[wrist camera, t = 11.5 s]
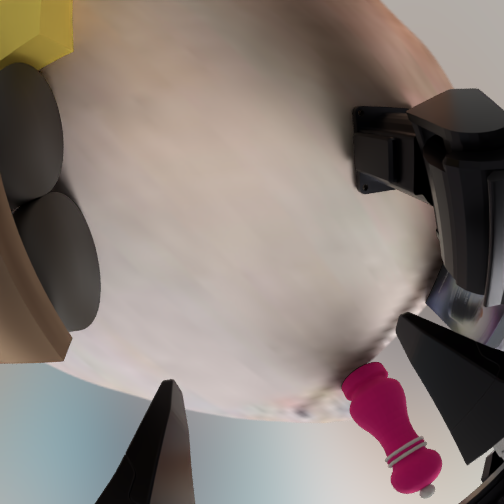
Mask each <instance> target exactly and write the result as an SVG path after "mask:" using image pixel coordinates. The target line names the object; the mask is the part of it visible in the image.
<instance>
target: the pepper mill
mask: <svg viewBox="0 0 504 504" xmlns="http://www.w3.org/2000/svg"><path fill="white" fill-rule="evenodd" d="M387 377H388V372H387V371H386V369H385V368H384V367H383V365H382V364H381V363H379V362H371V363H368V364H365V365H363V366H361V367H359V368H358V369H356V370H355V371H353V372H352V373H351V374H350V375H349V376H348V377H347V378H346V379H345V380H344V382H343V384H342V391H343V393H344V394H345V396H346V398H347V399H348V400H350V401H352V402H351V405H350V414H351V416H352V418H353V419H354V421H355V422H356V423H357V424H358V425H359V426H360V427H361V428H363V429H364V430H366V431H367V432H369V433H370V434H372V435H373V436H374V437H375V438H376V439H377V440H378V441H379V442H380V444H381V445H382V447H383V448H384V450H385V453H386V455H387V458H386V459H385V461H386V462H387V463H388V464H389V465H388V467H389V468H392V467H393V472H392V475H391V483H392V485H393V487H394V488H395V489H396V490H397V491H398V492H400V493H404V494H409V493H414V492H417V491H419V490H420V496H421V497H422V498H429V497H431V496H432V495H433V494H434V492H435V487H434V486H433V485H431V483H432V482H433V481H434V480H435V479H436V478H437V476H438V475H439V473H440V471H441V467H442V460H441V457H440V455H439V454H438V453H437V452H436V451H435V450H431V449H427V448H426V447H425V446H426V445H427V442H424V440H423V439H424V438H423V437H422V436H421V437H419V436H418V435H417V434H416V432H415V431H414V430H413V428H412V425H411V424H410V421H409V417H408V414H407V407H406V397H405V394H404V390H403V388H402V386H401V385H400V383H399V382H398V381H397V380H395V379H391V378H387Z"/></svg>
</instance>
